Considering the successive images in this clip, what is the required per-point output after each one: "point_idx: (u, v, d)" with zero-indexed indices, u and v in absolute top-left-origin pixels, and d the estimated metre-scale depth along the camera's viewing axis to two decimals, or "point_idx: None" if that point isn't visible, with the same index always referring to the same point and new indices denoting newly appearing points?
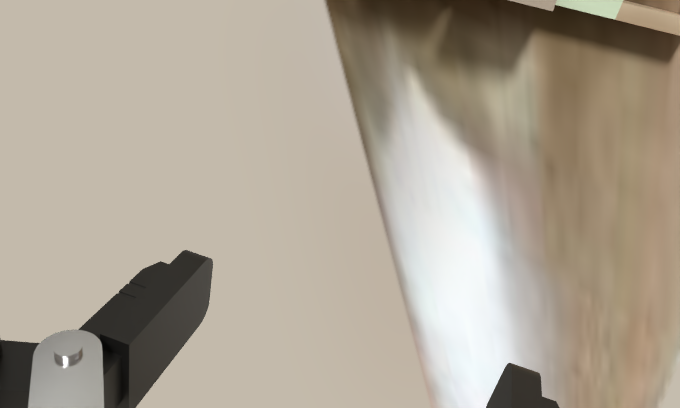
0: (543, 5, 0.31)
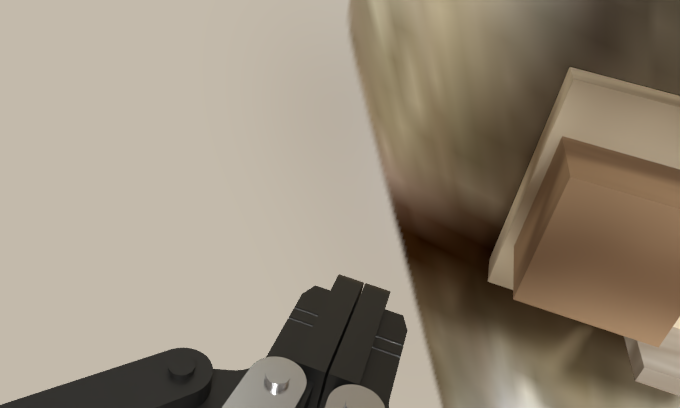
0: None
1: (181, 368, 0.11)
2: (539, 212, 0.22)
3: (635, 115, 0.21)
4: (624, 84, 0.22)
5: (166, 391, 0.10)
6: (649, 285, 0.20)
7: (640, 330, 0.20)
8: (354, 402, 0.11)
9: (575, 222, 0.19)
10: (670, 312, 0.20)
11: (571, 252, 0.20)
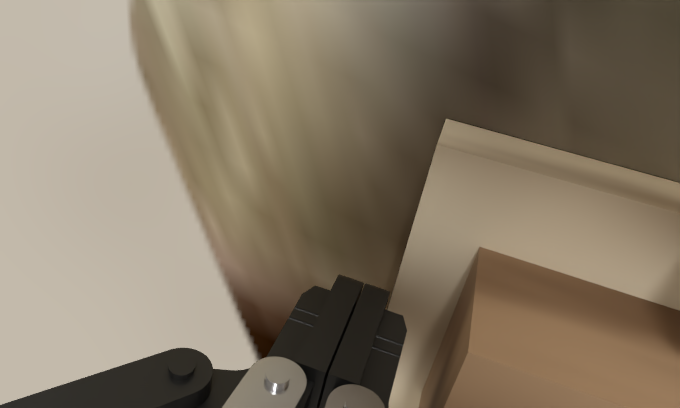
0: None
1: (181, 368, 0.11)
2: (441, 370, 0.14)
3: (535, 201, 0.13)
4: (524, 148, 0.14)
5: (166, 391, 0.10)
6: None
7: None
8: (354, 402, 0.11)
9: None
10: None
11: None
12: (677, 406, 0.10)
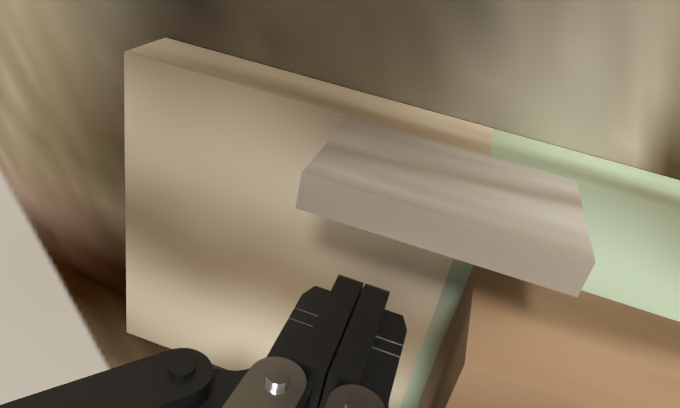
0: None
1: (181, 367, 0.11)
2: (439, 378, 0.14)
3: (213, 103, 0.14)
4: (221, 60, 0.15)
5: (166, 391, 0.10)
6: None
7: None
8: (354, 402, 0.11)
9: None
10: None
11: None
12: None
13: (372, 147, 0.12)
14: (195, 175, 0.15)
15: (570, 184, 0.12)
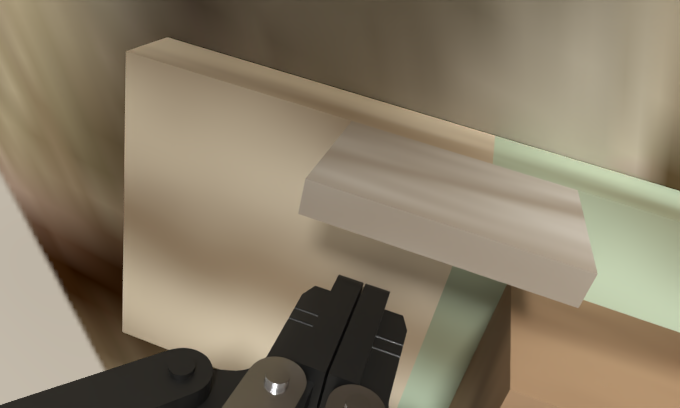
0: None
1: (181, 367, 0.11)
2: (472, 398, 0.14)
3: (215, 105, 0.14)
4: (224, 61, 0.15)
5: (166, 391, 0.10)
6: None
7: None
8: (354, 402, 0.11)
9: None
10: None
11: None
12: None
13: (375, 153, 0.12)
14: (195, 176, 0.15)
15: (571, 193, 0.12)
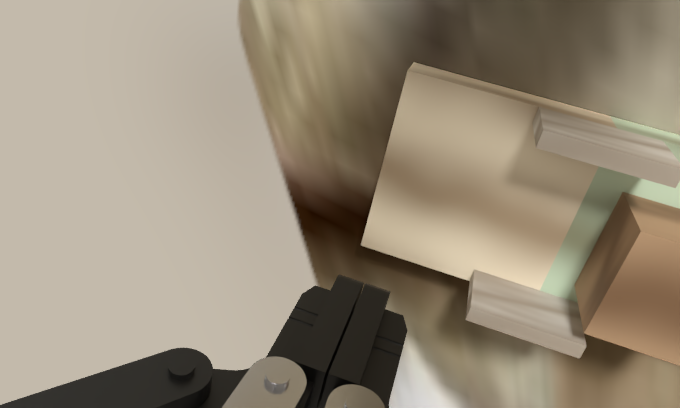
0: (568, 351, 0.26)
1: (181, 368, 0.11)
2: (604, 257, 0.25)
3: (457, 99, 0.26)
4: (453, 75, 0.27)
5: (166, 391, 0.10)
6: None
7: None
8: (354, 402, 0.11)
9: (642, 268, 0.23)
10: None
11: (638, 294, 0.23)
12: None
13: (562, 121, 0.24)
14: (436, 141, 0.27)
15: (661, 142, 0.24)
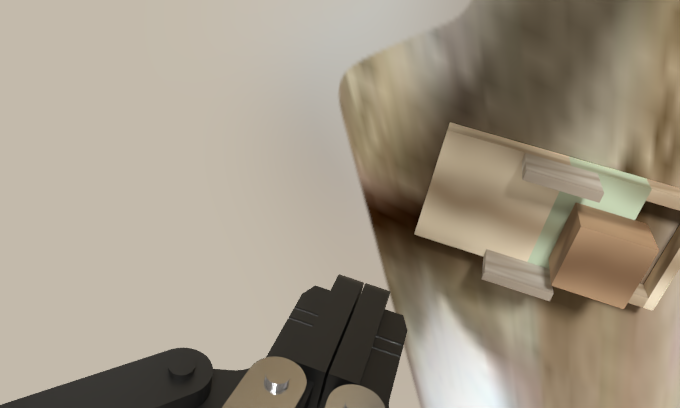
0: (543, 297, 0.44)
1: (181, 368, 0.11)
2: (564, 241, 0.43)
3: (477, 147, 0.43)
4: (474, 131, 0.44)
5: (166, 391, 0.10)
6: (618, 277, 0.41)
7: (614, 300, 0.41)
8: (354, 402, 0.11)
9: (582, 247, 0.40)
10: (629, 291, 0.41)
11: (581, 262, 0.41)
12: (636, 240, 0.39)
13: (538, 163, 0.41)
14: (463, 171, 0.44)
15: (596, 174, 0.41)
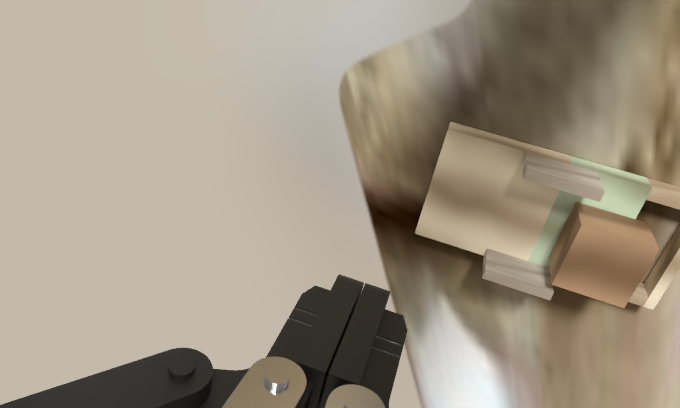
0: (543, 296, 0.44)
1: (181, 368, 0.11)
2: (564, 240, 0.43)
3: (477, 146, 0.43)
4: (475, 131, 0.44)
5: (166, 391, 0.10)
6: (618, 276, 0.41)
7: (615, 299, 0.41)
8: (354, 402, 0.11)
9: (583, 246, 0.40)
10: (629, 290, 0.41)
11: (581, 261, 0.41)
12: (637, 239, 0.40)
13: (538, 162, 0.41)
14: (464, 170, 0.44)
15: (596, 173, 0.41)
